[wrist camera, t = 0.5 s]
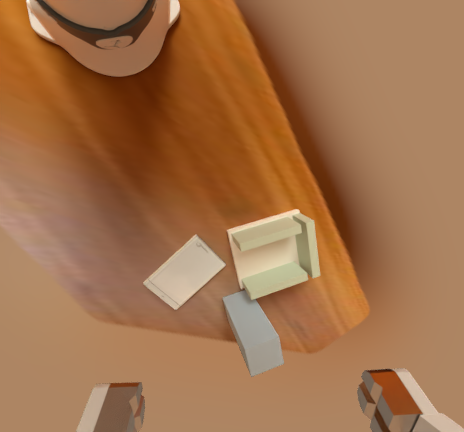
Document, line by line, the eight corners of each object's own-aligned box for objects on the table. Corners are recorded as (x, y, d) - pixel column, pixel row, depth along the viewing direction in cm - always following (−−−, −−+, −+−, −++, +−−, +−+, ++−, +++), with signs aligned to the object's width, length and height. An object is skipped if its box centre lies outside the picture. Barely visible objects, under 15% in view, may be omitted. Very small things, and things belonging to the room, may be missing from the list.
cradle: (226, 229, 50) (236, 241, 45) (296, 209, 53) (313, 217, 48) (239, 286, 54) (249, 303, 49) (304, 264, 57) (320, 278, 52)
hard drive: (197, 235, 48) (143, 285, 48) (227, 265, 51) (176, 311, 51) (195, 232, 50) (143, 280, 49) (224, 261, 53) (175, 306, 53)
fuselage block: (222, 297, 54) (244, 349, 41) (248, 288, 55) (278, 336, 42) (228, 320, 56) (251, 377, 43) (253, 311, 57) (283, 363, 44)
